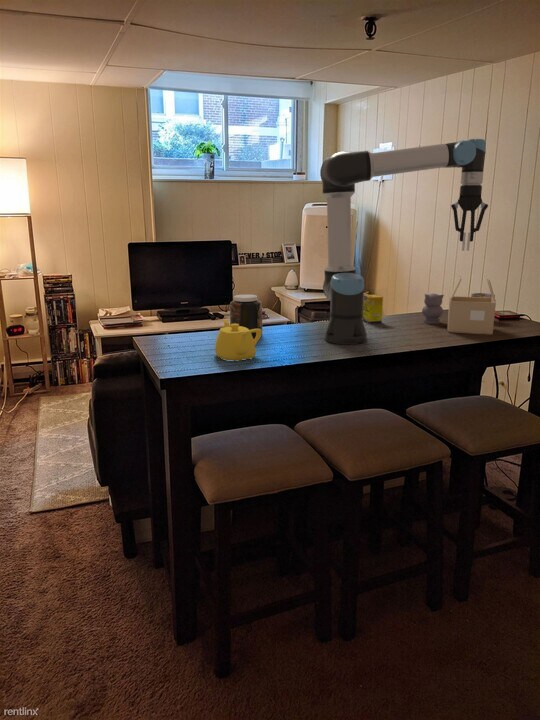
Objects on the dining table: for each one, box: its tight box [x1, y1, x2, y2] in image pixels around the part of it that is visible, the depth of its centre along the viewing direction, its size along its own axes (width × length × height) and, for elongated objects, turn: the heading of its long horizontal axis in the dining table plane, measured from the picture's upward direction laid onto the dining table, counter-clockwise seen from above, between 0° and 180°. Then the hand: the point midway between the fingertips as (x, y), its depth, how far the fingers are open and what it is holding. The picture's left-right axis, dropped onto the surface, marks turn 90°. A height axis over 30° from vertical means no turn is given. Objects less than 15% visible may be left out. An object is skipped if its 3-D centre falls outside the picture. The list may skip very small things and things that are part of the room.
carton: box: [446, 295, 497, 335], centre depth 213 cm, size 16×12×12 cm
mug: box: [470, 292, 496, 298], centre depth 233 cm, size 12×9×11 cm
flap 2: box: [485, 275, 497, 303], centre depth 208 cm, size 8×11×1 cm
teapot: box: [214, 319, 263, 360], centre depth 178 cm, size 22×16×11 cm
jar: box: [229, 294, 263, 339], centre depth 205 cm, size 12×12×15 cm
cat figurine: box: [421, 293, 445, 325], centre depth 227 cm, size 8×8×12 cm
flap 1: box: [449, 275, 462, 300], centre depth 212 cm, size 8×11×1 cm
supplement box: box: [363, 294, 384, 324], centre depth 229 cm, size 6×6×11 cm
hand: (465, 250), depth 207 cm, fingers closed
